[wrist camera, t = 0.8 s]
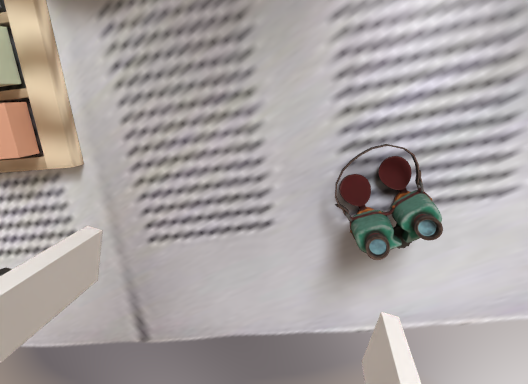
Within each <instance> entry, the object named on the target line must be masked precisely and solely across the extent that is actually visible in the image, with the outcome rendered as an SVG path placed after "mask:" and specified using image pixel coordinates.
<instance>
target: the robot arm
mask: <svg viewBox="0 0 528 384" xmlns="http://www.w3.org/2000/svg"><path fill="white" fill-rule="evenodd" d="M102 231H103V230H100V229H97V228H94V227H90V226H86V227H84V228H83V229H81V230H79V231H77V232H76V233H74V234H72V235H71V236H69V237H67V238H65V239H64V240H62V241H60V242H58V243H57V244H55V245H53V246H52V247H50V248H48V249H46V250H45V251H43V252H41V253H39V254H38V255H36V256H34V257H33V258H31V259H29V260H27V261H26V262H24V263H22V264H21V265H19V266H17V267H15V268H14V269H9V268H3V269H0V363H1V362H2V361H3V360H5V359H6V358H7V357H8V356H9V355H11V354H12V353H13V352H14V351H15V350H16V349H17V348H19V347H20V346H21V345H22V344H23V343H25V342H26V341H27V340H28V339H29V338H31V337H32V336H33V335H34V334H35V333H36V332H38V331H39V330H40V329H41V328H42V327H43V326H45V325H46V324H47V323H48V322H49V321H51V320H52V319H53V318H54V317H55V316H56V315H58V314H59V313H60V312H61V311H62V310H63V309H65V308H66V307H67V306H68V305H69V304H70V303H72V302H73V301H74V300H75V299H76V298H78V297H79V296H80V295H81V294H82V293H83V292H85V291H86V290H87V289H88V288H89V287H90V286H92V285H93V284H94V283H95V282H96V281H98V271H99V261H100V251H101V241H102ZM362 367H363V374H364V380H365V384H421V381H420V378H419V375H418V373H417V370H416V367H415V364H414V361H413V358H412V355H411V352H410V349H409V346H408V343H407V340H406V337H405V334H404V331H403V328H402V325H401V322H400V319H399V317H397V316H394V315H390V314H387V313H384V312H381V314H380V316H379V319H378V321H377V324H376V326H375V329H374V332H373V334H372V337H371V339H370V342H369V344H368V347H367V349H366V352H365V354H364V357H363V359H362Z"/></svg>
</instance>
